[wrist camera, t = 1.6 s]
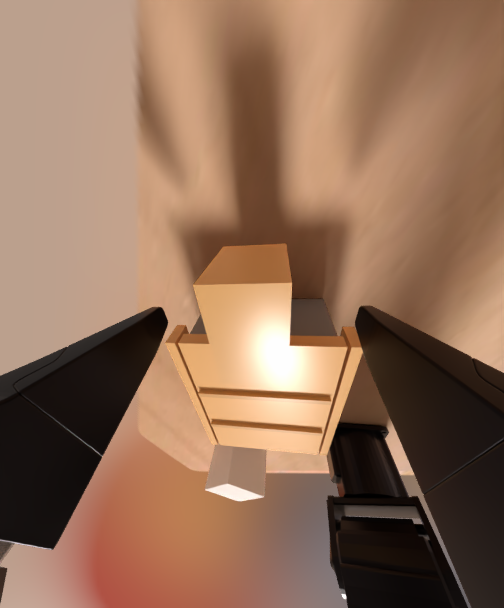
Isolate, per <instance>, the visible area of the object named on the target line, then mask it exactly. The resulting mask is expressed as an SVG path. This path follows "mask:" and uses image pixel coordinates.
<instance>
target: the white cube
mask: <svg viewBox="0 0 504 608" xmlns="http://www.w3.org/2000/svg"><path fill="white" fill-rule="evenodd" d="M265 474H266V450H265V449H255V448H244V447H234V446H224V445H220V444H219V442H218V445H215V448H214V452H213V456H212V461H211V465H210V469H209V474H208V478H207V482H206V487H205V490H207V491H210V492H213V493H216V494H219V495H222V496H224V497H228V498H230V499H233V500H236V501H244V500H250V499H255V498H261V497H265Z"/></svg>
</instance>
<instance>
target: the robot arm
mask: <svg viewBox="0 0 504 608" xmlns="http://www.w3.org/2000/svg"><path fill="white" fill-rule="evenodd" d="M167 325H168V320H167V317H166V315H165V312H164V310H163V308H161V307H152V308H149V309H147V310H145V311H143V312H141V313H139V314H136V315H134V316H132V317H130V318H128V319H126V320H123V321H121V322H119V323H117V324H115V325H113V326H111V327H108V328H106V329H104V330H102V331H100V332H98V333H95V334H93V335H91V336H89V337H87V338H84V339H82V340H80V341H78V342H76V343H74V344H71V345H69V346H68V347H65V348H63V349H61V350H58V351H56V352H54V353H52V354H50V355H47V356H45V357H43V358H41V359H39V360H36V361H34V362H32V363H29V364H27V365H25V366H22V367H20V368H18V369H15V370H13V371H10V372H8V373H6V374H3V375H1V376H0V563H1V562H2V560H3V559H4V557H5V556H6V555H7V554H8V552H9V551H10V549H11V548H12V547H13V545H14V544H15V543H16V544H22V545H27V546H32V547H38V548H43V549H49V550H53V549H54V547H55V546H56V544H57V543H58V541H59V539H60V537H61V535H62V533H63V532H64V530H65V528H66V526H67V524H68V522H69V520H70V518H71V516H72V514H73V512H74V510H75V509H76V507H77V505H78V503H79V501H80V499H81V497H82V495H83V493H84V491H85V489H86V487H87V485H88V484H89V482H90V480H91V478H92V476H93V474H94V472H95V470H96V468H97V466H98V464H99V462H100V461H101V458H102V456H103V454H104V453H105V451H106V449H107V447H108V445H109V443H110V441H111V439H112V437H113V435H114V433H115V432H116V430H117V428H118V426H119V424H120V422H121V420H122V418H123V416H124V414H125V412H126V410H127V409H128V407H129V404H130V403H131V401H132V399H133V397H134V395H135V393H136V391H137V389H138V387H139V386H140V384H141V382H142V380H143V378H144V376H145V374H146V372H147V370H148V368H149V366H150V364H151V363H152V361H153V359H154V357H155V355H156V353H157V351H158V348H159V346H160V343H161V341H162V338H163V336H164V333H165V331H166V328H167ZM355 327H356V330H357V334H358V337H359V341H360V344H361V347H362V351H363V354H364V357H365V360H366V362H367V365H368V367H369V369H370V372H371V374H372V376H373V379H374V381H375V383H376V386H377V388H378V390H379V393H380V395H381V397H382V400H383V402H384V404H385V407H386V409H387V411H388V414H389V416H390V418H391V421H392V423H393V425H394V428H395V430H396V432H397V435H398V437H399V439H400V442H401V444H402V446H403V449H404V451H405V453H406V456H407V458H408V460H409V463H410V465H411V467H412V470H413V472H414V474H415V477H416V479H417V481H418V484H419V486H420V488H421V491H422V493H423V494H424V498H425V500H426V503H427V505H428V507H429V510H430V512H431V514H432V517H433V519H434V521H435V524H436V526H437V528H438V531H439V533H440V535H441V538H442V540H443V542H444V545H445V547H446V549H447V552H448V554H449V556H450V559H451V561H452V563H453V566H454V568H455V570H456V573H457V575H458V577H459V580H460V582H461V584H462V587H463V589H464V591H465V594H466V596H467V598H468V601H469V603H470V605H471V608H504V373H503V372H501V371H499V370H497V369H495V368H493V367H491V366H489V365H487V364H485V363H483V362H481V361H479V360H477V359H475V358H472V357H471V356H469V355H467V354H465V353H463V352H461V351H459V350H457V349H455V348H453V347H451V346H449V345H447V344H445V343H443V342H441V341H439V340H438V339H436V338H434V337H432V336H430V335H428V334H426V333H424V332H422V331H420V330H418V329H416V328H414V327H412V326H410V325H408V324H406V323H404V322H402V321H400V320H398V319H396V318H394V317H392V316H390V315H389V314H387V313H385V312H383V311H381V310H379V309H377V308H375V307H373V306H361V307H360V308H359V310H358V314H357V317H356V321H355ZM388 433H389V431H388V429H387V428H386V427H377V426H364V425H351V424H338V425H337V428H336V430H335V433H334V436H333V439H332V442H331V445H330V448H329V451H328V453H327V460H328V466H329V472H330V477H331V481H332V482H333V483H336V484H337V488H338V494H339V497H334V496H328V500H327V508H328V520H329V531H330V563H331V567H332V569H333V570H334V571H335V573H336V576H337V580H338V584H339V588H340V591H341V594H342V596H343V598H344V599H346V600H347V605H348V608H468V607H467V604H466V602H465V600H464V597H463V595H462V593H461V590H460V588H459V586H458V584H457V581H456V579H455V577H454V575H453V572H452V570H451V568H450V566H449V564H448V562H447V559H446V557H445V555H444V553H443V551H442V548H441V546H440V544H439V542H438V540H437V537H436V535H435V533H434V531H433V529H432V527H431V524H430V522H429V520H428V518H427V515H426V513H425V511H424V509H423V507H422V505H421V502H420V500H419V498H418V496H412V497H409V496H408V493H407V491H406V488H405V486H404V484H403V481H402V479H401V476H400V474H399V472H398V469H397V467H396V464H395V462H394V460H393V457H392V455H391V452H390V450H389V448H388V445H387V443H386V440H385V438H386V436H387V435H388ZM346 515H347V516H346ZM348 516H371V518H369V517H348ZM372 517H396V518H420V520H421V522H422V524H414V523H413V521H412V519H395V518H372ZM6 572H7V568H4V567H0V602H1V597H2V592H3V587H4V582H5V577H6Z"/></svg>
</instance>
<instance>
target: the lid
mask: <svg viewBox="0 0 504 608" xmlns="http://www.w3.org/2000/svg"><path fill="white" fill-rule="evenodd" d="M193 287H194V291H195V294H196V298H197V301H198V305H199V309H200V312H201V316H202V319H203V323H204V326H205V330H206V333H207V334H189V333H188V330H187V327H186V325H177V326H176V328H175V329H174V331H173V332H172V334H171V335H170V337H169V338H168V340H167V341H166V342H165V344H166V346H167V348H168V350H169V352H170V355H171V357H172V359H173V361H174V363H175V365H176V368H177V370H178V372H179V374H180V376H181V378H182V381H183V383H184V385H185V387H186V389H187V391H188V394H189V396H190V398H191V400H192V402H193V404H194V407H195V409H196V411H197V413H198V415H199V417H200V420H201V422H202V424H203V426H204V428H205V430H206V433H207V435H208V437H209V439H210V441H211V443H212V444H214V445H218V442H219V444H220V445H224V446H234V447H244V448H255V449H265V450H275V451H285V452H295V453H305V454H316V455H318V451H319V453H320V455H326V456H327V453H328V451H329V448H330V445H331V442H332V439H333V436H334V433H335V430H336V428H337V425H338V422H339V419H340V416H341V413H342V410H343V408H344V405H345V402H346V399H347V396H348V393H349V390H350V388H351V385H352V382H353V379H354V376H355V373H356V370H357V368H358V365H359V362H360V359H361V356H362V353H363V351H362V347H361V344H360V341H359V337H358V334H357V332H356V330H355V329H354V327H342V331H341V336H292V335H290V321H291V297H292V279H291V272H290V266H289V259H288V252H287V245H286V243H285V244H265V245H245V246H225V247H223V248H222V249H221V250H220V251H219V253H218V254H217V255H216V257H215V258H214V259H213V260H212V262H211V263H210V264H209V265H208V267H207V268H206V269H205V270H204V272H203V273H202V274H201V275H200V277H199V278H198V279H197V280H196V282H195V283H194V284H193Z"/></svg>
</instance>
